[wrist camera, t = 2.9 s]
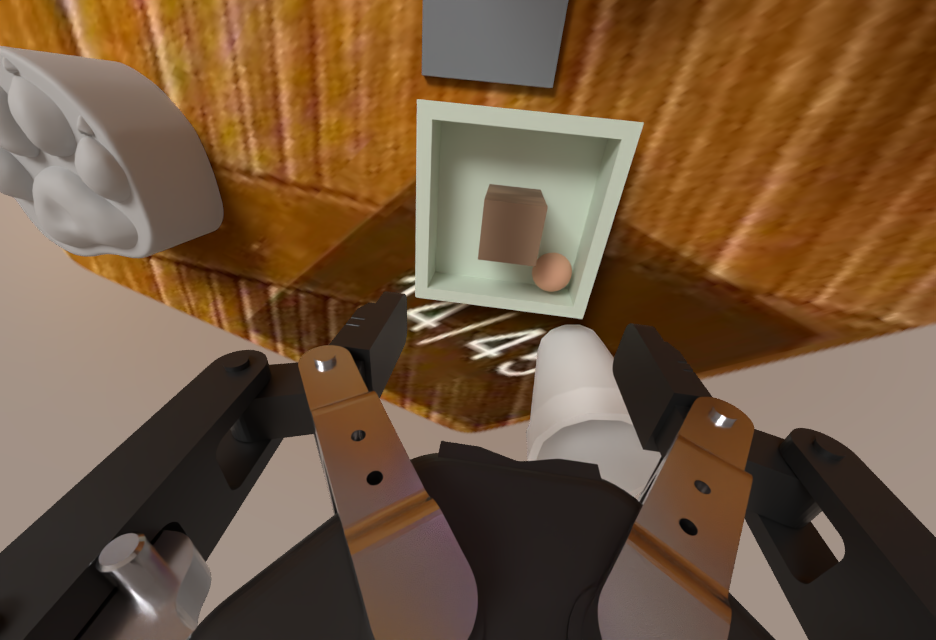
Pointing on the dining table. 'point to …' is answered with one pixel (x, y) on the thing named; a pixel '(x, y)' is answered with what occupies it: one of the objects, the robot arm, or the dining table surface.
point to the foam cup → (584, 410)
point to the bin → (519, 165)
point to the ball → (552, 272)
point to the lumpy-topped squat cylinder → (101, 156)
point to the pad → (493, 40)
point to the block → (512, 225)
